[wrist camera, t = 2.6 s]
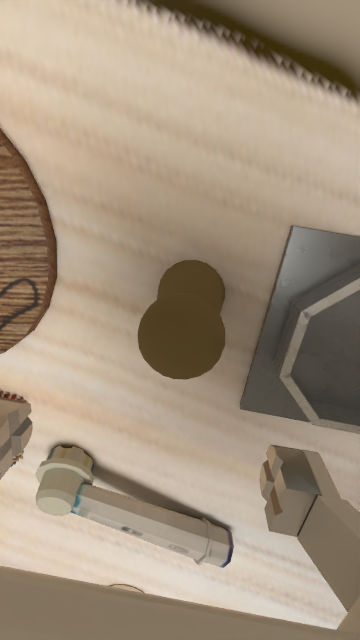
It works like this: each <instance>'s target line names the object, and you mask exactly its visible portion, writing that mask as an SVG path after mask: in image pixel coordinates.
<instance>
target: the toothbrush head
mask: <svg viewBox="0 0 360 640" xmlns="http://www.w3.org/2000/svg"><path fill="white" fill-rule="evenodd" d="M93 467H94V464H93V460H92V458H90V457H89V456H87V455H86V454H85V453H84V450H83V449H80V448H77V447H75V446H72V448H63V447H62V446H58V447H56V448H53V449H52V450H51V452H50V454H49V456H48V458H47V460H46V461H43V462H42V463H41V465H40V466H39V468H38V470H37V472H36V474H35V475H36V477H37V479H38V481H39V483H40V486H39V489H38V492H37V495H36V504H37V506H38V508H39V509H40V510H42V511H43V512H45V513H47V514H51V515H59V516H63V515H66V514H69V513H70V512H71V513H74V514H77V515H79V516H82V517H85V518H87V519H90V520H93V521H95V522H98V523H100V524H103V525H106V526H108V527H111V528H114V529H116V530H119V531H122V532H124V533H127V534H129V535H132V536H135V537H137V538H140V539H143V540H145V541H148V542H151V543H153V544H156V545H159V546H161V547H164V548H166V549H169V550H172V551H174V552H177V553H180V554H182V555H185V556H188V557H190V558H193V559H194V561H195V562H196V563H197V564H198V565H200V564H202V563H203V562H205V563H209V564H212V565H216V566H219V567H222V568H224V567H225V566H226V565H227V564H228V563H230V561H231V557H232V553H233V548H234V545H233V539H232V533H231V532H230V531H228V530H227V529H225V528H222V527H220V526H217V525H214V524H212V523H210V522H209V521H208V520H206V519H205V518H202V519H201V520H199V519H196V518H193V517H190V516H187V515H184V514H181V513H177V512H174V511H171V510H168V509H165V508H162V507H159V506H156V505H152V504H149V503H146V502H143V501H140V500H137V499H134V498H130V497H127V496H124V495H121V494H118V493H115V492H112V491H109V490H105V489H102V488H99V487H96V486H93V485H92V484H93V480H94V479H93V476H92V470H93Z"/></svg>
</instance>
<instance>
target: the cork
mask: <svg viewBox="0 0 360 640" xmlns="http://www.w3.org/2000/svg"><path fill="white" fill-rule="evenodd" d="M224 297H225V288H224V284H223V281H222V278H221V277H220V276H219V274H218V273H217V271H216V270H215V269H213V268H212V267H211V266H209V265H208V264H206V263H203V262H200V261H197V260H187V261H182V262H180V263H177V264H175V265H173V266H172V267H171V268H169V269H168V270H167V271H166V272H165V274H164V275H163V277H162V278H161V281H160V285H159V289H158V295H157V301H156V302H154V303H153V304H152V305H150V307H149V308H148V310H147V311H146V313H145V314H144V315H143V317H142V318H141V321H140V325H139V329H138V343H139V349H140V351H141V353H142V356H143V358H144V359H145V360H146V362H147V363H148V364H149V365H150V366H151V367H152V368H153V369H154V370H155V371H157V372H159V373H160V374H162V375H163V376H166V377H170V378H173V379H190V378H194V377H198V376H201V375H202V374H204V373H206V372H207V371H209V370H211V368H212V367H213V366H214V365H215V364H216V363H217V362H218V360H219V358H220V356H221V354H222V351H223V349H224V346H225V328H224V325H223V322H222V319H221V316H220V312H221V309H222V305H223V302H224Z"/></svg>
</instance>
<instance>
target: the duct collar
mask: <svg viewBox="0 0 360 640" xmlns="http://www.w3.org/2000/svg"><path fill="white" fill-rule="evenodd" d="M240 409H243V410H248V411H253V412H258V413H264V414H269V415H274V416H279V417H285V418H290V419H295V420H300V421H306V422H311V423H312V425H316V426H322V427H327V428H332V429H337V430H343V431H348V432H353V433H358V434H360V237H356V236H350V235H344V234H338V233H332V232H326V231H320V230H314V229H308V228H302V227H295V226H291V230H290V233H289V237H288V240H287V244H286V247H285V251H284V254H283V258H282V261H281V265H280V268H279V271H278V275H277V278H276V282H275V285H274V289H273V292H272V296H271V299H270V303H269V306H268V310H267V313H266V317H265V320H264V324H263V327H262V330H261V334H260V337H259V341H258V344H257V348H256V351H255V355H254V358H253V362H252V365H251V369H250V372H249V376H248V379H247V383H246V386H245V389H244V393H243V396H242V400H241V403H240Z"/></svg>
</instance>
